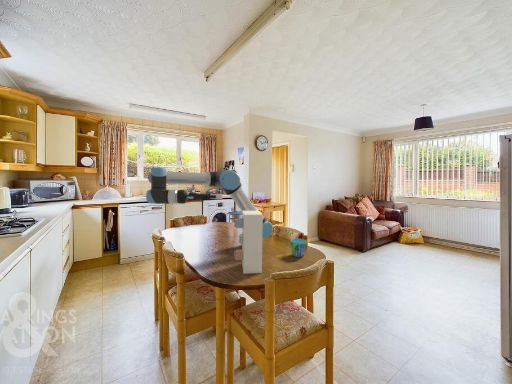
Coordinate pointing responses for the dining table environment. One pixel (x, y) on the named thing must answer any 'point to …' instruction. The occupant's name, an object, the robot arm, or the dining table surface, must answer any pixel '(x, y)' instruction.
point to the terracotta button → (238, 254)
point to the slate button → (238, 223)
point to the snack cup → (298, 247)
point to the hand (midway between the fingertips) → (222, 196)
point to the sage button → (241, 238)
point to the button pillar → (252, 241)
